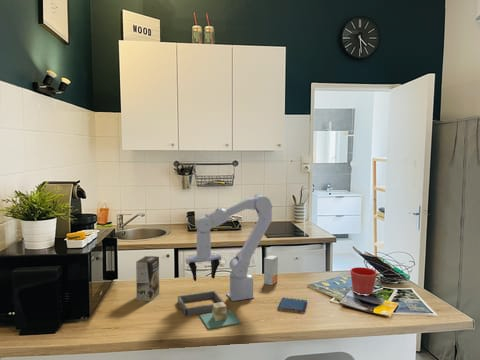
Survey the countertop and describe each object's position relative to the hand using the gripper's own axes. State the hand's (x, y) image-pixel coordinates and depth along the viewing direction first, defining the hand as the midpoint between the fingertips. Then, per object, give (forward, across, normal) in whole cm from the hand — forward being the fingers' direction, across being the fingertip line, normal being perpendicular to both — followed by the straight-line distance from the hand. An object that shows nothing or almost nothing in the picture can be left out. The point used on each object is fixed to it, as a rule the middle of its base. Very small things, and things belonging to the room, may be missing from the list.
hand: (204, 279), depth 151 cm
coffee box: (+9, -21, +11) cm, 25 cm away
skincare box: (+9, +34, +7) cm, 36 cm away
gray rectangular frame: (+8, -3, -6) cm, 11 cm away
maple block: (+8, 0, -20) cm, 22 cm away
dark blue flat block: (+9, +30, -20) cm, 37 cm away
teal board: (+8, 0, -20) cm, 22 cm away
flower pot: (+9, +65, -19) cm, 68 cm away
